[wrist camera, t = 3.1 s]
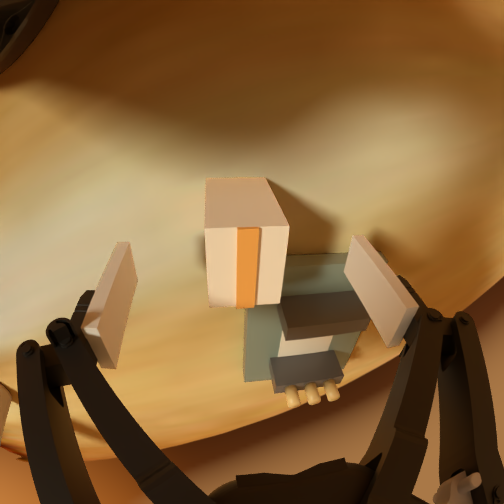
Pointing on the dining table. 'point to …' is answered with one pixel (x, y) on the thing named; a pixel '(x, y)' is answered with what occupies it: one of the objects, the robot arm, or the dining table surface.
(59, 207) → the dining table surface
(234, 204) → the plug
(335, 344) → the header board
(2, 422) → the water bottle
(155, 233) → the dining table surface
